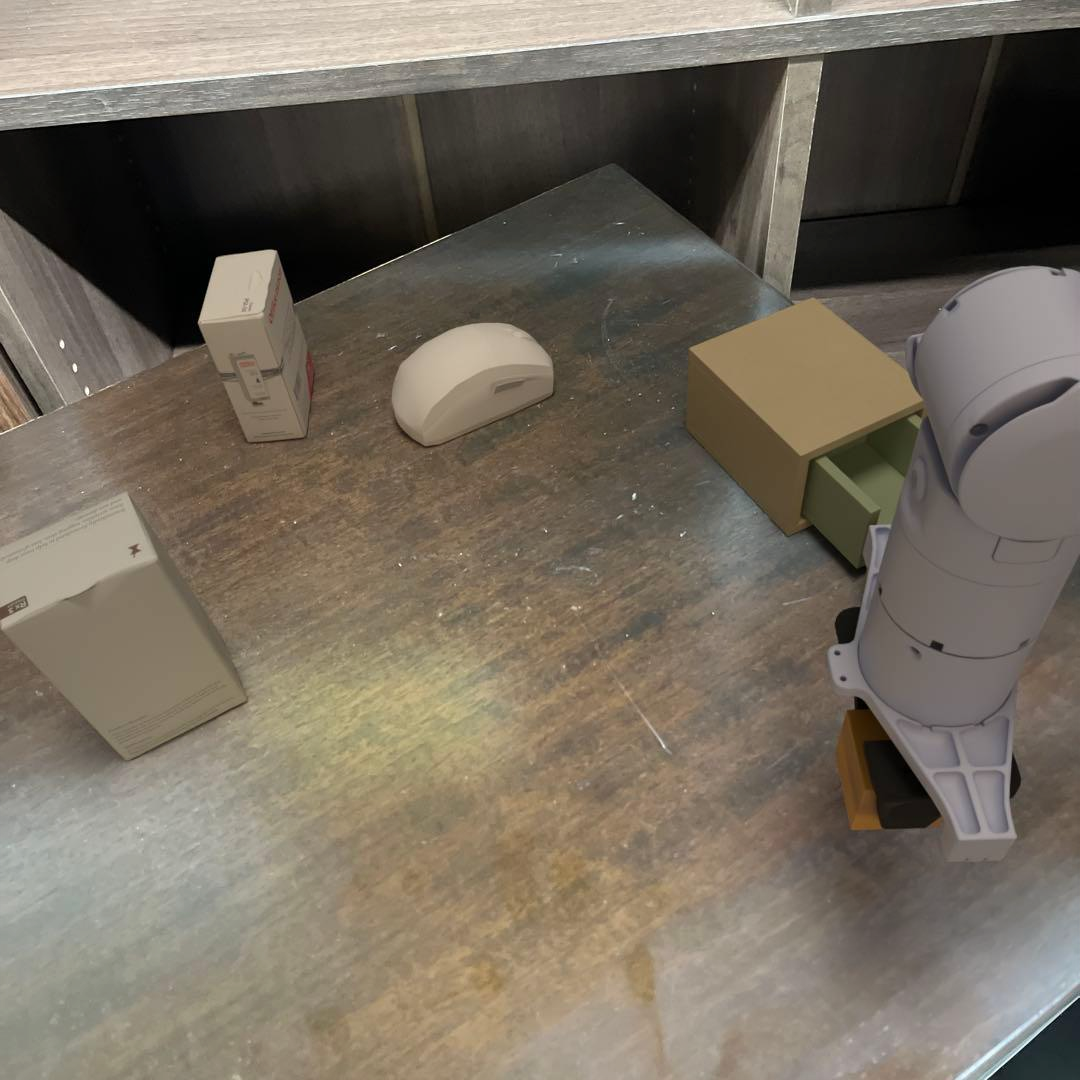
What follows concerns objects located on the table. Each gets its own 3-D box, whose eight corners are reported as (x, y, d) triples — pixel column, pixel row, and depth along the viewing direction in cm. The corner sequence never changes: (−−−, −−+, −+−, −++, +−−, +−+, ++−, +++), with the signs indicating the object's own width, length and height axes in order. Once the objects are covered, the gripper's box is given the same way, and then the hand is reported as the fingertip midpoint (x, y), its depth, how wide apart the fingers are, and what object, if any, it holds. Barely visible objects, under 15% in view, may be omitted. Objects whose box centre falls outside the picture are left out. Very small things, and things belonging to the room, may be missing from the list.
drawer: (1047, 593, 61) (1077, 531, 56) (925, 658, 58) (948, 598, 54) (872, 439, 71) (887, 376, 66) (762, 489, 68) (770, 427, 64)
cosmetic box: (223, 639, 65) (134, 481, 54) (252, 706, 61) (163, 552, 50) (97, 698, 63) (-23, 546, 51) (119, 772, 59) (-5, 625, 48)
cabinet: (912, 477, 69) (936, 394, 63) (787, 537, 66) (800, 456, 61) (801, 378, 77) (813, 296, 71) (685, 428, 74) (688, 347, 68)
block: (918, 749, 48) (936, 705, 45) (940, 828, 45) (960, 787, 42) (834, 752, 48) (846, 709, 45) (850, 830, 45) (864, 790, 42)
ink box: (260, 374, 83) (213, 251, 74) (318, 368, 83) (278, 244, 74) (245, 445, 77) (193, 321, 68) (308, 439, 77) (263, 314, 68)
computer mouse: (565, 393, 78) (560, 328, 73) (416, 456, 75) (400, 393, 70) (527, 350, 82) (520, 286, 77) (383, 409, 79) (366, 345, 74)
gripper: (811, 456, 40) (779, 646, 50) (892, 782, 31) (832, 936, 41) (989, 446, 40) (920, 640, 50) (1127, 775, 30) (1007, 932, 40)
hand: (891, 773), depth 45 cm, fingers closed on block, 4 cm apart
